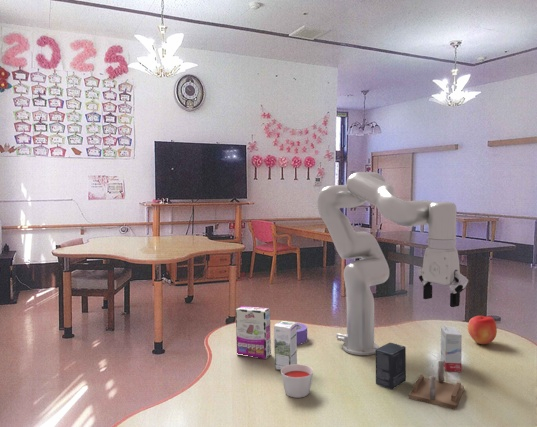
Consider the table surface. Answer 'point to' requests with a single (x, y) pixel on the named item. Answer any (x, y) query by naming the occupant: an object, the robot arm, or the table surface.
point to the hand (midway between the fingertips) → (440, 302)
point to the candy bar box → (253, 331)
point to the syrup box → (285, 344)
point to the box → (390, 365)
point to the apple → (482, 329)
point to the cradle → (437, 390)
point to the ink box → (451, 348)
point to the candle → (297, 380)
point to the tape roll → (301, 333)
